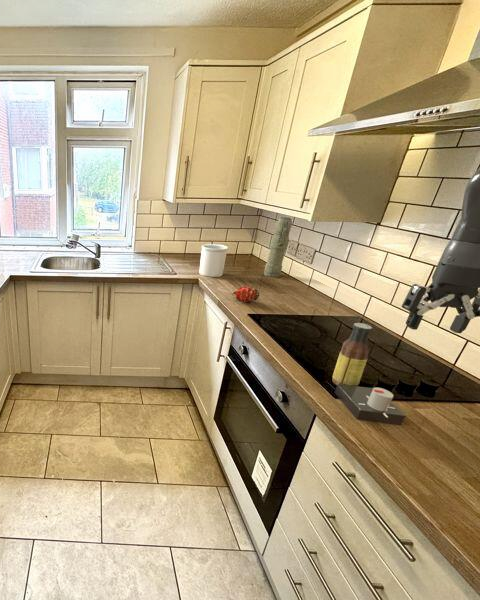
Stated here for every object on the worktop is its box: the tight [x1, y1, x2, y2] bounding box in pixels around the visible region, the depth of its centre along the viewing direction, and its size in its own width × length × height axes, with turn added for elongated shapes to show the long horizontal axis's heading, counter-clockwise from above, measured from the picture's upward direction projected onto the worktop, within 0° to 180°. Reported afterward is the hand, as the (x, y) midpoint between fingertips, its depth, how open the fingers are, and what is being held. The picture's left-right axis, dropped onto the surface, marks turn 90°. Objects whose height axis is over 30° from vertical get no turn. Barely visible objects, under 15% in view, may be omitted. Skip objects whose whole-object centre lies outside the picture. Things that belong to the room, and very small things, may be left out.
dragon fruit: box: [232, 285, 260, 304], centre depth 155 cm, size 8×8×12 cm
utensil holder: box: [198, 243, 229, 278], centre depth 195 cm, size 15×15×18 cm
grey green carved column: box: [263, 216, 293, 279], centre depth 189 cm, size 9×12×35 cm
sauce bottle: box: [332, 322, 373, 387], centre depth 92 cm, size 7×6×20 cm
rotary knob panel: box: [334, 384, 406, 426], centre depth 85 cm, size 10×13×3 cm
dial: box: [367, 386, 394, 412], centre depth 82 cm, size 4×4×5 cm
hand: (432, 329), depth 73 cm, fingers open, 8 cm apart
